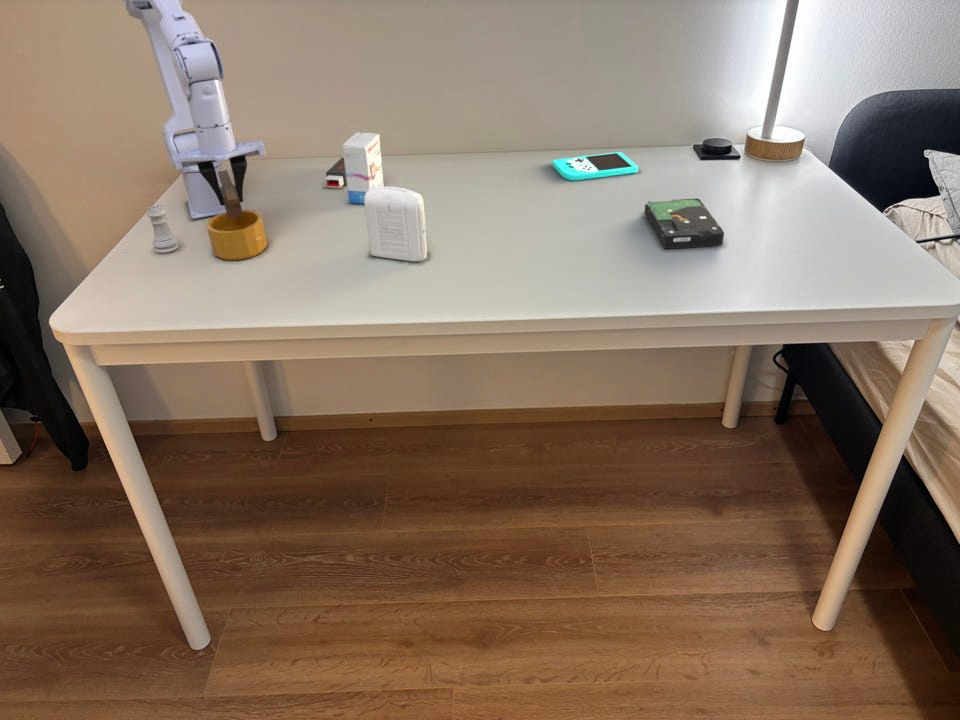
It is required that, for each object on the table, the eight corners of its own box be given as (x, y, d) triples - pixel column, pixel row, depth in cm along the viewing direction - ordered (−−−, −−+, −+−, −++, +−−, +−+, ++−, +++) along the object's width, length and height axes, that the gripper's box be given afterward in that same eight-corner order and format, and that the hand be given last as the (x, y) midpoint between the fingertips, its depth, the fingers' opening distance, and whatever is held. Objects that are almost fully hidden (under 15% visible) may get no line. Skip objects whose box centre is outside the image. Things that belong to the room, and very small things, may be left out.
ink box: (372, 205, 147) (365, 146, 140) (348, 203, 147) (340, 145, 141) (385, 188, 153) (379, 131, 146) (362, 187, 154) (355, 130, 147)
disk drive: (723, 247, 127) (696, 210, 139) (726, 232, 126) (699, 196, 138) (664, 251, 127) (642, 214, 139) (665, 236, 125) (644, 200, 137)
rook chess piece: (185, 245, 135) (173, 203, 130) (169, 256, 131) (156, 214, 127) (165, 242, 136) (152, 201, 131) (149, 252, 133) (135, 211, 128)
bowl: (211, 243, 135) (203, 215, 132) (263, 233, 138) (257, 206, 134) (217, 265, 128) (209, 236, 124) (271, 254, 130) (265, 226, 127)
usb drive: (364, 168, 163) (363, 156, 162) (344, 189, 154) (343, 176, 152) (342, 167, 164) (340, 154, 163) (321, 187, 155) (319, 175, 153)
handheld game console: (551, 164, 161) (551, 158, 160) (620, 156, 164) (620, 150, 163) (566, 181, 153) (567, 175, 152) (638, 172, 156) (639, 166, 155)
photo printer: (431, 253, 129) (426, 185, 122) (422, 264, 126) (416, 195, 118) (377, 246, 132) (368, 180, 124) (367, 257, 128) (357, 190, 121)
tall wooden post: (221, 199, 134) (215, 171, 131) (236, 196, 134) (229, 169, 131) (231, 229, 123) (224, 200, 120) (247, 226, 124) (240, 197, 121)
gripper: (166, 137, 115) (189, 218, 122) (261, 122, 119) (277, 202, 127) (163, 124, 120) (186, 203, 128) (254, 111, 124) (270, 187, 132)
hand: (231, 201), depth 128 cm, fingers closed on tall wooden post, 2 cm apart
